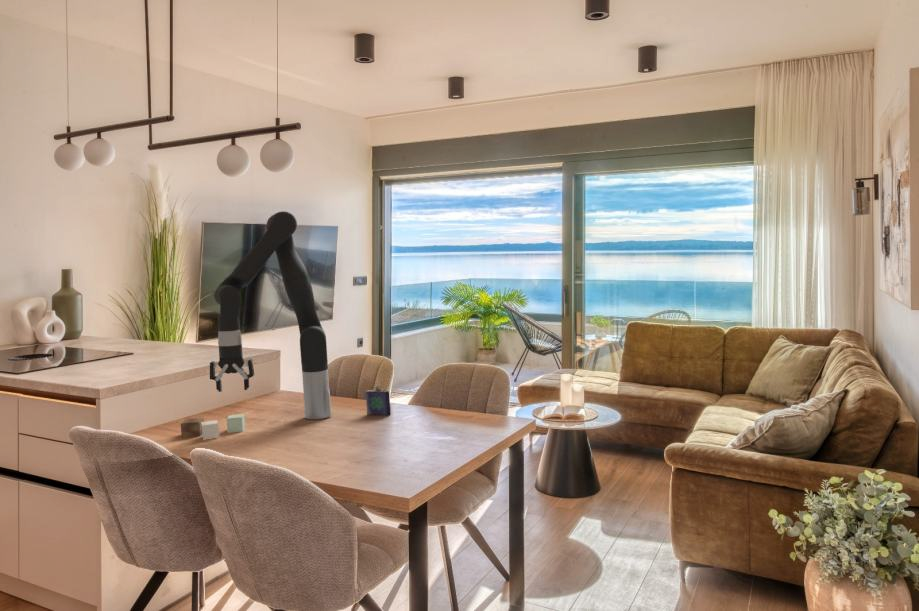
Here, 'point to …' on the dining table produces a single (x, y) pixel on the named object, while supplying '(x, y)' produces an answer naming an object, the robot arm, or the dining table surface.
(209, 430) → the cream block
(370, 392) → the flask
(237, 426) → the sage block
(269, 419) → the dining table surface
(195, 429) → the walnut block
